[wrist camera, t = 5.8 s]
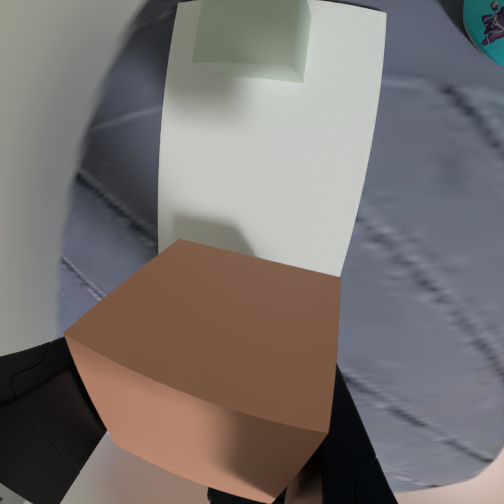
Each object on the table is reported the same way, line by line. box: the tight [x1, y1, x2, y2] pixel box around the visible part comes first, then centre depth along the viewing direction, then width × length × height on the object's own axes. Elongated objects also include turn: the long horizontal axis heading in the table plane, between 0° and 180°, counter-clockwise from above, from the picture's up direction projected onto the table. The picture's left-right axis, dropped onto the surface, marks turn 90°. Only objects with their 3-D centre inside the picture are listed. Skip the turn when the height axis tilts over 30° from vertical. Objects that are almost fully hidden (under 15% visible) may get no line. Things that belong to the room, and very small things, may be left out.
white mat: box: [158, 0, 386, 277], centre depth 17 cm, size 24×13×1 cm, turn 173°
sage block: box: [192, 0, 312, 83], centre depth 11 cm, size 4×4×4 cm
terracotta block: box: [64, 239, 340, 504], centre depth 7 cm, size 4×4×4 cm
